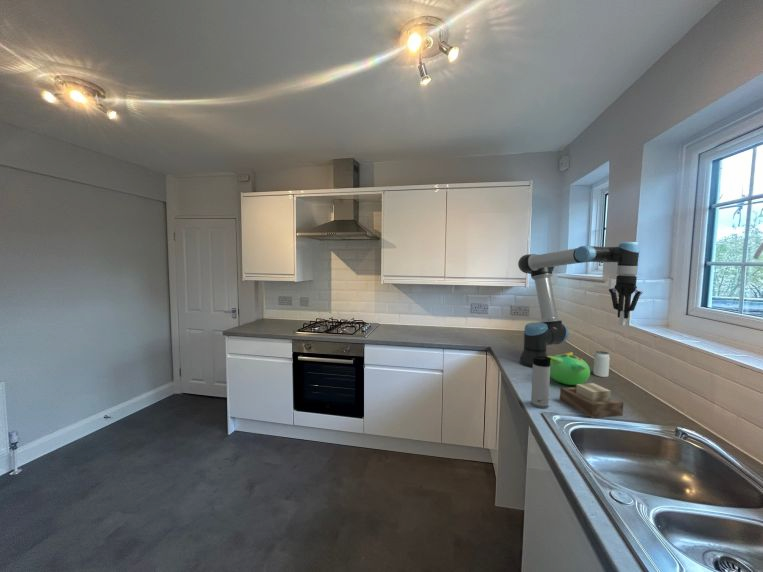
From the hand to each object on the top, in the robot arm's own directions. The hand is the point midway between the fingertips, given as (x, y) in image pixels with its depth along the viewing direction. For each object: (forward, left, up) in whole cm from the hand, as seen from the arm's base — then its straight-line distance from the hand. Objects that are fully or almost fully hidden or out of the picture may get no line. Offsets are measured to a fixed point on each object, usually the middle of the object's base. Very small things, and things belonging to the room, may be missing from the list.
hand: (622, 324), depth 148 cm
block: (+7, -38, -29) cm, 48 cm away
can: (-10, +6, -29) cm, 31 cm away
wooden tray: (+7, -39, -29) cm, 49 cm away
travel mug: (-4, -56, -29) cm, 63 cm away
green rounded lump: (-12, -22, -29) cm, 38 cm away
